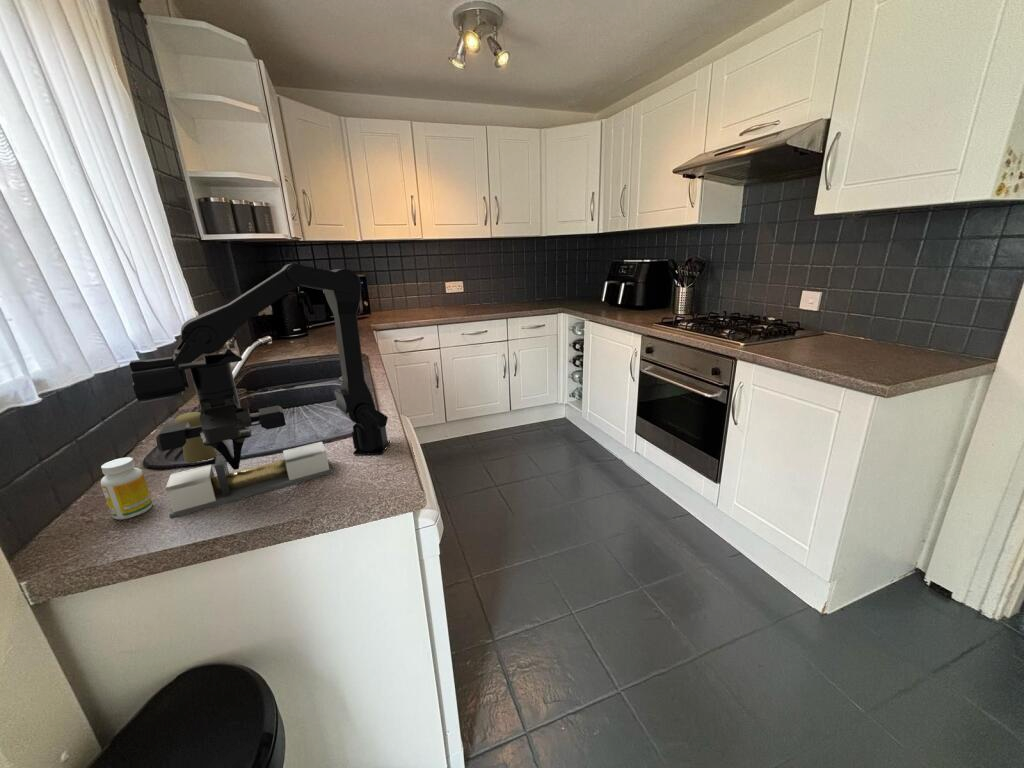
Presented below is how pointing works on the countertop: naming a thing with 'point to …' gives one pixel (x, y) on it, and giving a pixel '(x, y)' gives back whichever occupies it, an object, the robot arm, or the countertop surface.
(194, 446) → the cork
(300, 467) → the sleeve
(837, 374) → the countertop surface
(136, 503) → the supplement bottle
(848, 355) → the countertop surface
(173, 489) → the socket
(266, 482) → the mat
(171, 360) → the robot arm
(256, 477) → the bolt
